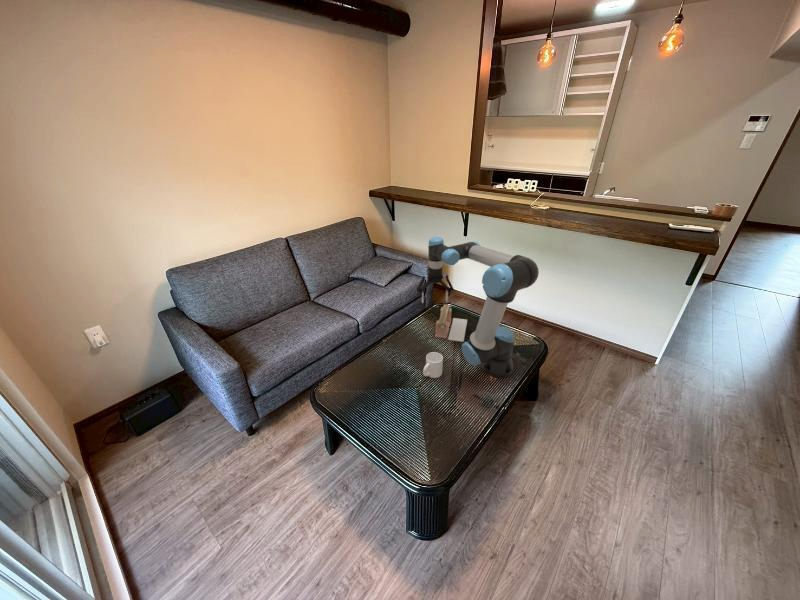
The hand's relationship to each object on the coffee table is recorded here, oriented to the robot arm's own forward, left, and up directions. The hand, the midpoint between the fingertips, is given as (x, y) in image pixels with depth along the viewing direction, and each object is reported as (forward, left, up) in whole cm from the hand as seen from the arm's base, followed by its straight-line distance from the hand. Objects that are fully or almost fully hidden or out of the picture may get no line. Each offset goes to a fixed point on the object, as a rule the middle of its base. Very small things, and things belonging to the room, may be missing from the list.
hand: (434, 301), depth 171 cm
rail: (-4, -10, -17) cm, 20 cm away
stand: (-4, -10, -24) cm, 26 cm away
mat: (-13, -10, -24) cm, 29 cm away
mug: (-5, +33, -24) cm, 41 cm away
